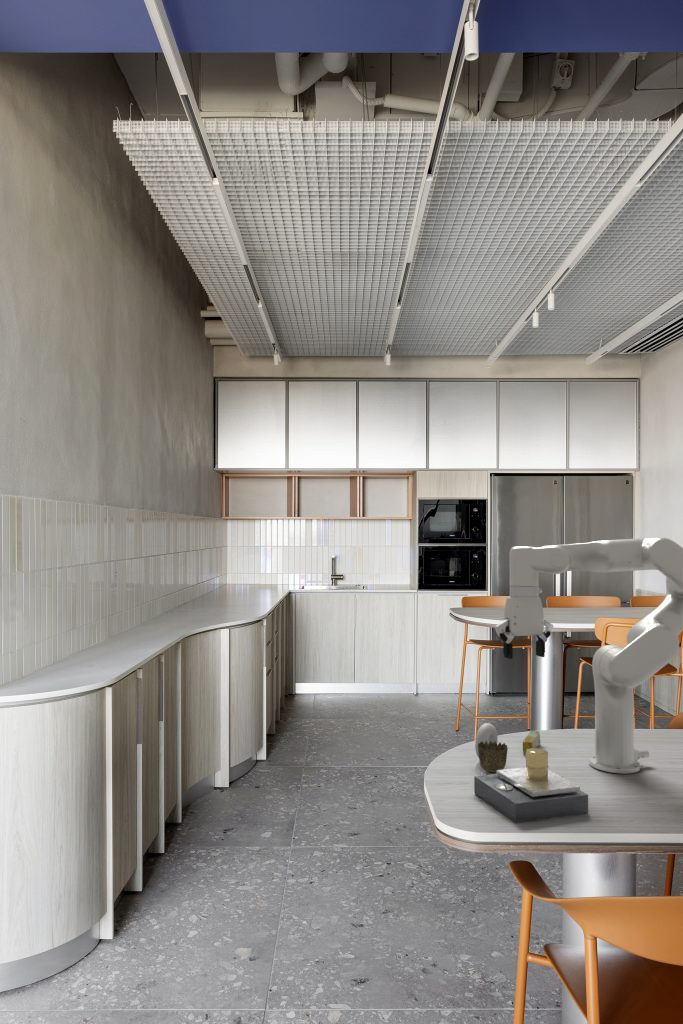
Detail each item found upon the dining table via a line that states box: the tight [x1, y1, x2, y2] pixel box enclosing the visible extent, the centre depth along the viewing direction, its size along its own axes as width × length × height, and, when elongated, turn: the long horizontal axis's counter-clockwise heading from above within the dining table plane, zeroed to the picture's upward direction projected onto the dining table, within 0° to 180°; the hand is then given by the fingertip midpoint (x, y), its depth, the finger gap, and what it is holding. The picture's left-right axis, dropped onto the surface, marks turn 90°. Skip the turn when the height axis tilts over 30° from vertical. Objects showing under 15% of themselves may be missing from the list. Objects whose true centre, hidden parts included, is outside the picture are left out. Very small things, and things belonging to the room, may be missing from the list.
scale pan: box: [496, 766, 581, 797], centre depth 160 cm, size 12×15×1 cm
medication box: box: [522, 730, 541, 756], centre depth 201 cm, size 12×3×4 cm, turn 154°
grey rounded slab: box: [474, 722, 498, 759], centre depth 190 cm, size 10×4×10 cm, turn 146°
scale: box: [473, 774, 589, 824], centre depth 160 cm, size 18×18×4 cm
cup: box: [478, 741, 509, 775], centre depth 177 cm, size 8×7×8 cm
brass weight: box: [525, 748, 549, 782], centre depth 160 cm, size 5×5×6 cm
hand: (524, 657), depth 188 cm, fingers open, 9 cm apart
